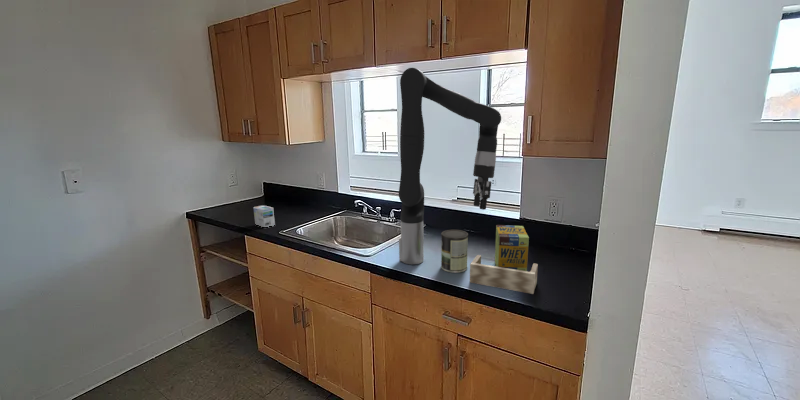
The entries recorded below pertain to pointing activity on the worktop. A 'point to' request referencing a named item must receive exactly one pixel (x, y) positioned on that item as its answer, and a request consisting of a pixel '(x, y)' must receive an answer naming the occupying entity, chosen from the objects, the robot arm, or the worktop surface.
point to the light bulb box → (264, 216)
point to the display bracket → (503, 276)
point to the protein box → (511, 247)
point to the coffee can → (454, 250)
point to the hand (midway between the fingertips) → (479, 207)
